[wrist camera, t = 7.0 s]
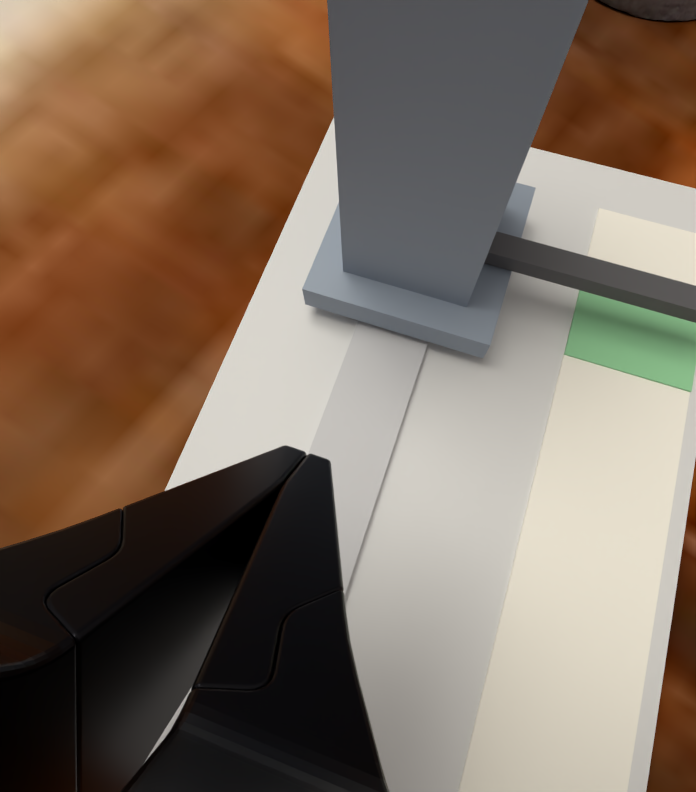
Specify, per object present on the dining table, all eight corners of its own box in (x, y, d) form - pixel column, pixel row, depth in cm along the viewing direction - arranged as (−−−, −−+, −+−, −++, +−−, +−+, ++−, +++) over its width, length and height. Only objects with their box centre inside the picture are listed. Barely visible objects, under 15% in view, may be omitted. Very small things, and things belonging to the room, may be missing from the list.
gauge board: (584, 980, 14) (617, 1038, 12) (68, 751, 15) (31, 773, 14) (708, 224, 21) (739, 192, 19) (342, 130, 22) (341, 93, 21)
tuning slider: (677, 417, 16) (1450, 35, 5) (305, 304, 18) (202, -195, 6) (704, 254, 18) (1313, -314, 6) (363, 163, 19) (368, -427, 8)
